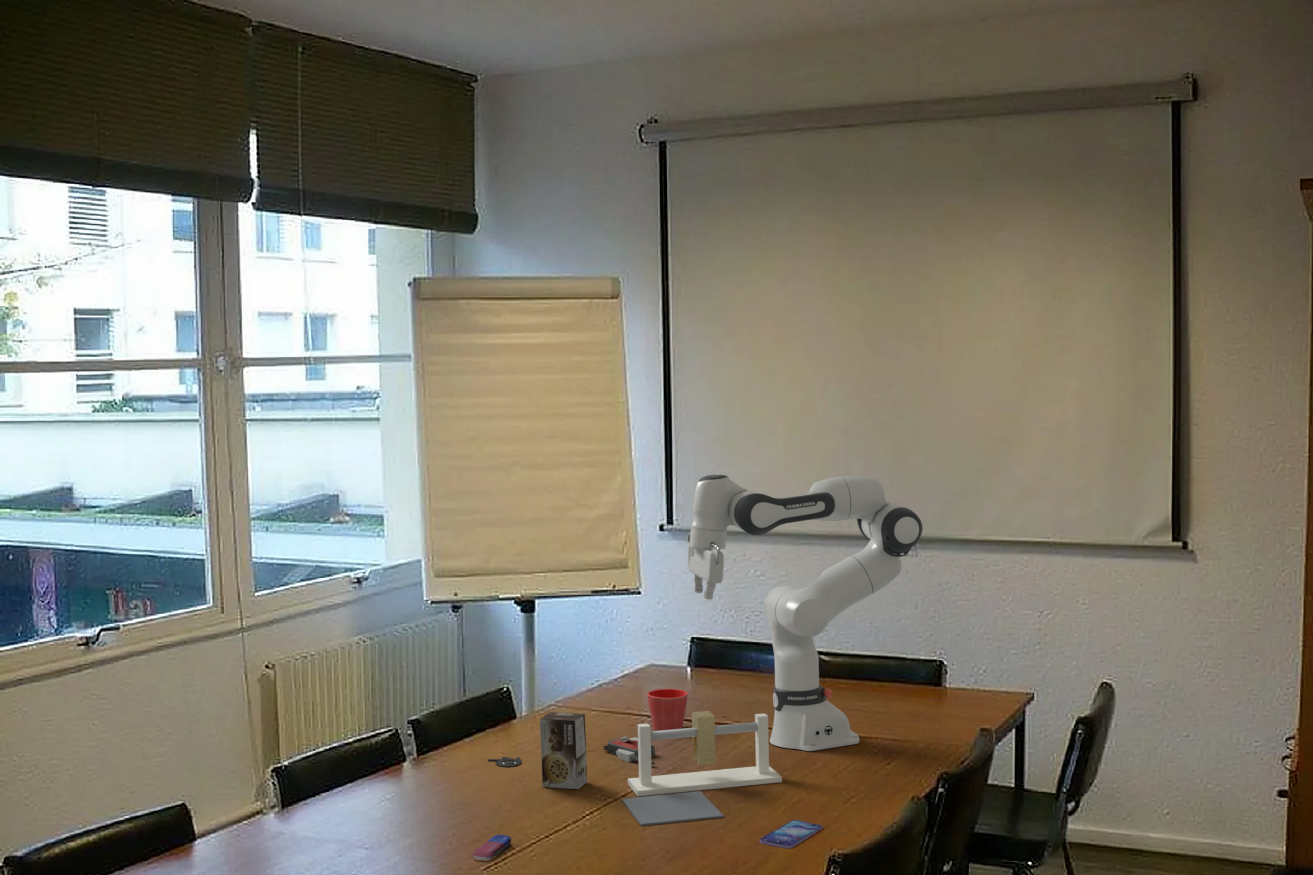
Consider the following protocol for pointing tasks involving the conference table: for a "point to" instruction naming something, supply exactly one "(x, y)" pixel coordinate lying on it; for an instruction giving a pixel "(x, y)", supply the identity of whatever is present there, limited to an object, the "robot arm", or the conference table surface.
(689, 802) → the rubber mat
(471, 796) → the conference table surface
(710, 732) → the c-link
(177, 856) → the conference table surface
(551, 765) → the coffee box
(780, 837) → the smartphone
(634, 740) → the walkie-talkie
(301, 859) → the conference table surface
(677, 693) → the flower pot
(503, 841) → the eraser
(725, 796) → the conference table surface
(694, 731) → the rod stand
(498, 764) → the dark grey flat piece
